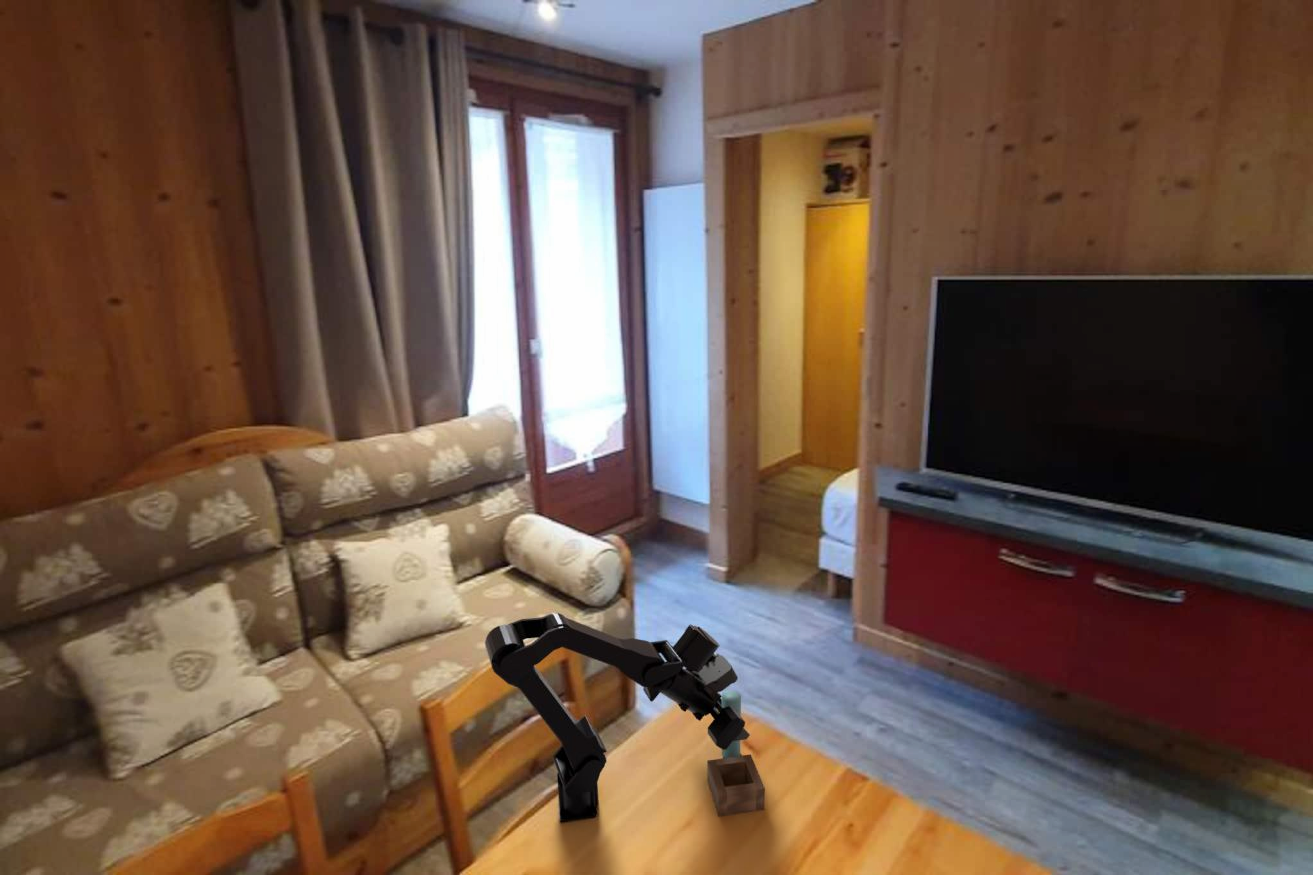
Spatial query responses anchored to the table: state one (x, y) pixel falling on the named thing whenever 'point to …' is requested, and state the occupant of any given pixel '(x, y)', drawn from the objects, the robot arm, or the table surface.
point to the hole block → (735, 796)
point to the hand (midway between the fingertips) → (735, 721)
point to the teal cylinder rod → (734, 701)
